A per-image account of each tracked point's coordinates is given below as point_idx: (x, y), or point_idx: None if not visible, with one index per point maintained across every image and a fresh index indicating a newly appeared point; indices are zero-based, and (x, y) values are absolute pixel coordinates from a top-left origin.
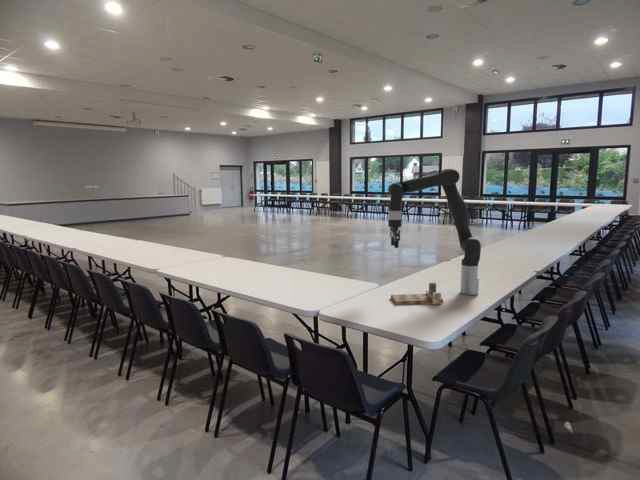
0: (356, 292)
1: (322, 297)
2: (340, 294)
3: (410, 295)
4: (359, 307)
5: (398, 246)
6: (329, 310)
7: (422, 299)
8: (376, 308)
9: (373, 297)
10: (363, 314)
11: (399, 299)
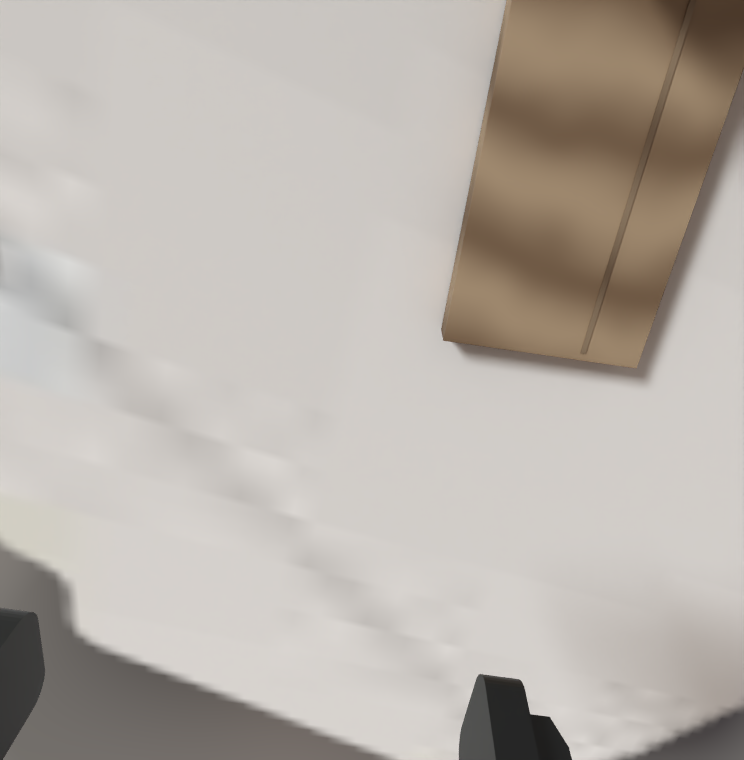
0: (211, 516)
1: (293, 713)
2: (245, 618)
3: (522, 162)
4: (566, 591)
5: (525, 710)
6: None
7: (700, 94)
8: (633, 507)
9: (370, 445)
10: (707, 607)
11: (601, 321)
